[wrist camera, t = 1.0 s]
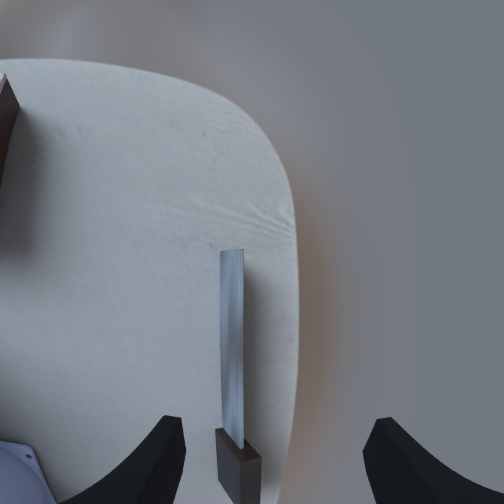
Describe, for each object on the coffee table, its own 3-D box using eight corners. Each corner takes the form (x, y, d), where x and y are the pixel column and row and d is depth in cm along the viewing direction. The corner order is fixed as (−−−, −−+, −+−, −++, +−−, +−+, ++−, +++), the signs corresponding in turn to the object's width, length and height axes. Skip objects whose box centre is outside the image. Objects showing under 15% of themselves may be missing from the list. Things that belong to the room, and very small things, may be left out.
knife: (235, 476, 21) (260, 509, 16) (218, 480, 20) (241, 514, 16) (232, 251, 22) (264, 248, 17) (211, 251, 21) (238, 247, 17)
